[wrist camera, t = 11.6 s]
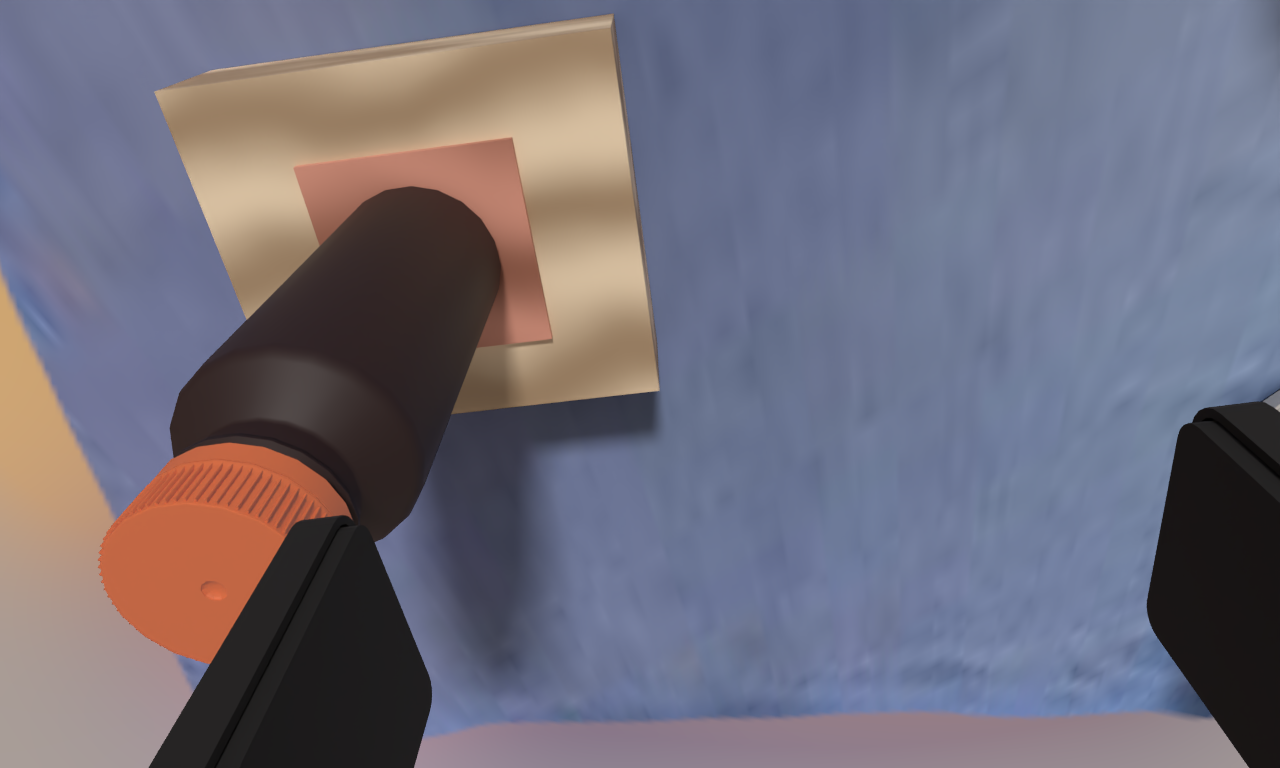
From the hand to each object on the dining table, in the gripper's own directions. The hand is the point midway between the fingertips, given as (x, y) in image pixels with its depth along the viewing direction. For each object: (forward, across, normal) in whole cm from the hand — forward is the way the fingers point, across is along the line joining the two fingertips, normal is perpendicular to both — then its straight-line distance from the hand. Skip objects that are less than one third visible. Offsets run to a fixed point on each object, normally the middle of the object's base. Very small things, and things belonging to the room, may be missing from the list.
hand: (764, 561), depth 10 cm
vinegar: (+26, +12, +4) cm, 29 cm away
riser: (+31, +12, +4) cm, 33 cm away
